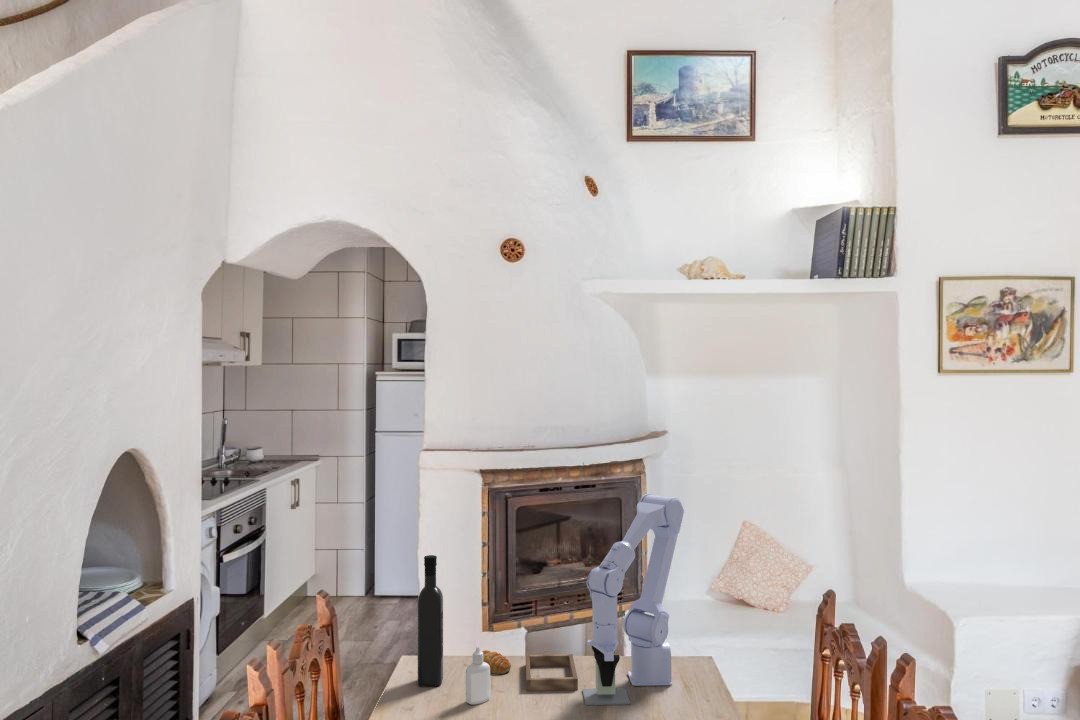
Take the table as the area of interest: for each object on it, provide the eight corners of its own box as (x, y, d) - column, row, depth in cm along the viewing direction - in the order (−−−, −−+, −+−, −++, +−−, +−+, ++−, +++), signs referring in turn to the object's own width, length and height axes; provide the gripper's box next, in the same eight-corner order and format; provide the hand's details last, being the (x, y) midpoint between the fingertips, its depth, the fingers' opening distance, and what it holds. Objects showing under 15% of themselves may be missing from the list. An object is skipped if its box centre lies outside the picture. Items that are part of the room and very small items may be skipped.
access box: (572, 664, 186) (572, 654, 186) (577, 689, 170) (577, 678, 171) (525, 664, 186) (525, 655, 186) (526, 690, 170) (526, 679, 170)
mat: (625, 689, 170) (625, 687, 170) (630, 704, 162) (630, 702, 162) (582, 690, 170) (582, 688, 170) (585, 705, 162) (585, 703, 162)
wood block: (613, 687, 168) (612, 660, 168) (615, 694, 164) (615, 667, 164) (595, 687, 168) (595, 660, 168) (597, 694, 164) (597, 667, 164)
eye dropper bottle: (491, 704, 163) (490, 649, 163) (465, 705, 162) (465, 651, 163) (489, 696, 167) (489, 643, 168) (465, 697, 166) (465, 644, 167)
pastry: (517, 670, 183) (517, 654, 183) (498, 678, 178) (498, 662, 178) (491, 661, 189) (490, 646, 190) (472, 669, 184) (472, 653, 184)
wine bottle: (443, 677, 178) (443, 553, 179) (441, 687, 173) (440, 558, 174) (420, 678, 178) (420, 553, 179) (416, 687, 172) (416, 559, 174)
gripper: (584, 612, 174) (585, 670, 173) (590, 632, 159) (591, 695, 159) (614, 611, 174) (614, 669, 174) (622, 631, 160) (623, 694, 159)
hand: (605, 682), depth 166 cm, fingers closed on wood block, 4 cm apart
